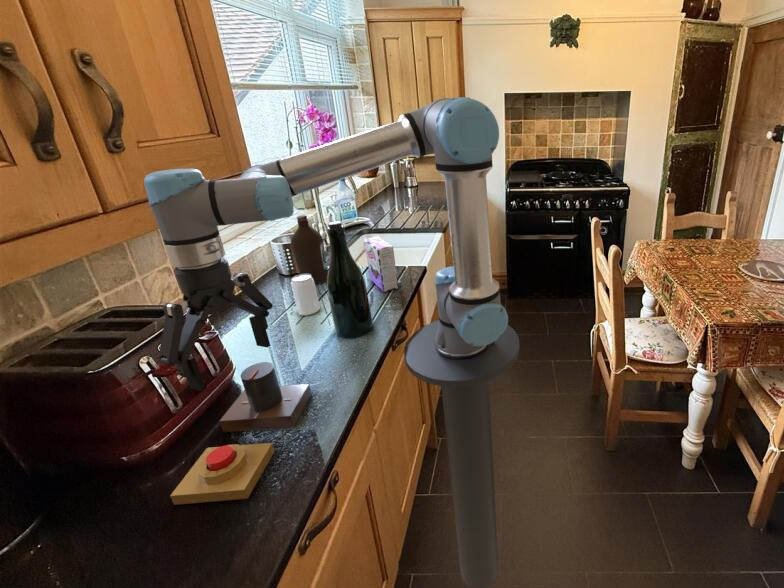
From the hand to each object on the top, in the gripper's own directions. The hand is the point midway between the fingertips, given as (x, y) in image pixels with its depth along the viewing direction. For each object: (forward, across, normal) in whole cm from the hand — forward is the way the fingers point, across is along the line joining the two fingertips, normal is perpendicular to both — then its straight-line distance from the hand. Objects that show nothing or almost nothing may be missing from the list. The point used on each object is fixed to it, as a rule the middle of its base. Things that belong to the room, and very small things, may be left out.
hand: (233, 365), depth 76 cm
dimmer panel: (+17, +6, +2) cm, 18 cm away
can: (+17, +45, +27) cm, 55 cm away
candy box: (+17, +69, +15) cm, 73 cm away
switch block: (+17, -9, -4) cm, 20 cm away
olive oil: (+17, +66, +43) cm, 80 cm away
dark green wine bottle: (+17, +40, +6) cm, 43 cm away
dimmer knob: (+14, +5, +2) cm, 15 cm away
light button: (+13, -9, -4) cm, 17 cm away
